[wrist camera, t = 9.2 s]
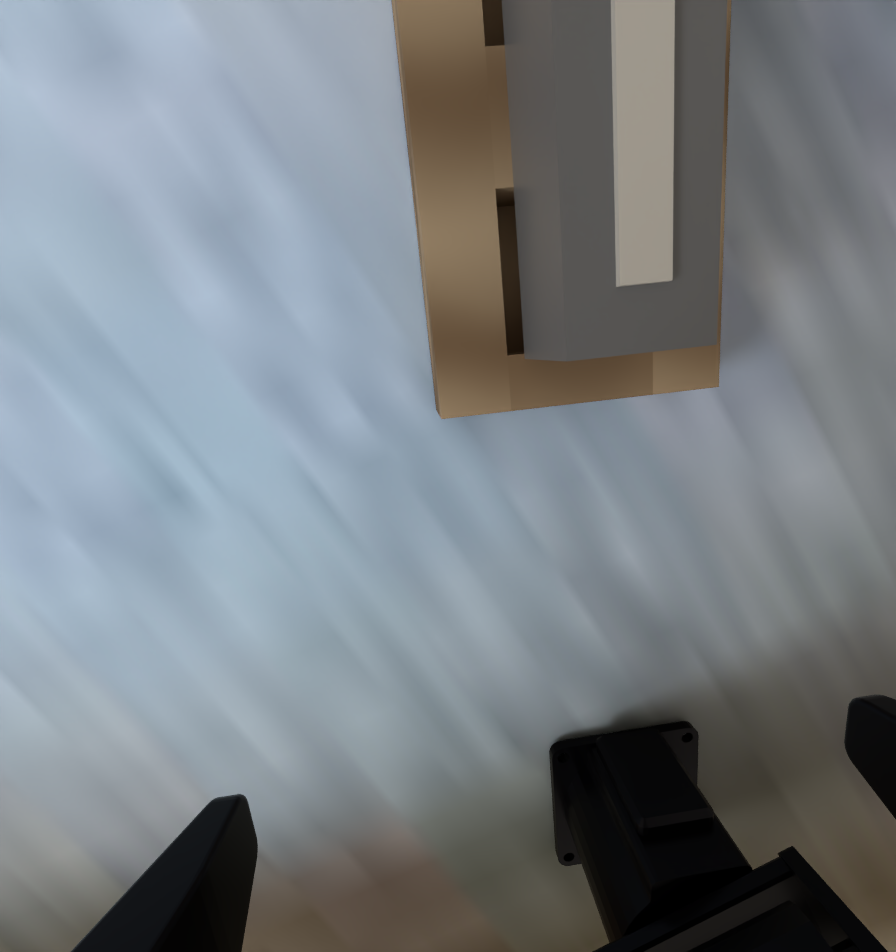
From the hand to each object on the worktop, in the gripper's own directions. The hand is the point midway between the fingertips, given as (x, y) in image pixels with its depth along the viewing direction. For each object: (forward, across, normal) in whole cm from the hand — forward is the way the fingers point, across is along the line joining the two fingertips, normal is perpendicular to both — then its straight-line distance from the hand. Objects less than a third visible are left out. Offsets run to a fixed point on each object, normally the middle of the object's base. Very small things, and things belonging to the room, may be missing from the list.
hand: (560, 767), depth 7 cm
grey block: (+12, -4, -12) cm, 17 cm away
